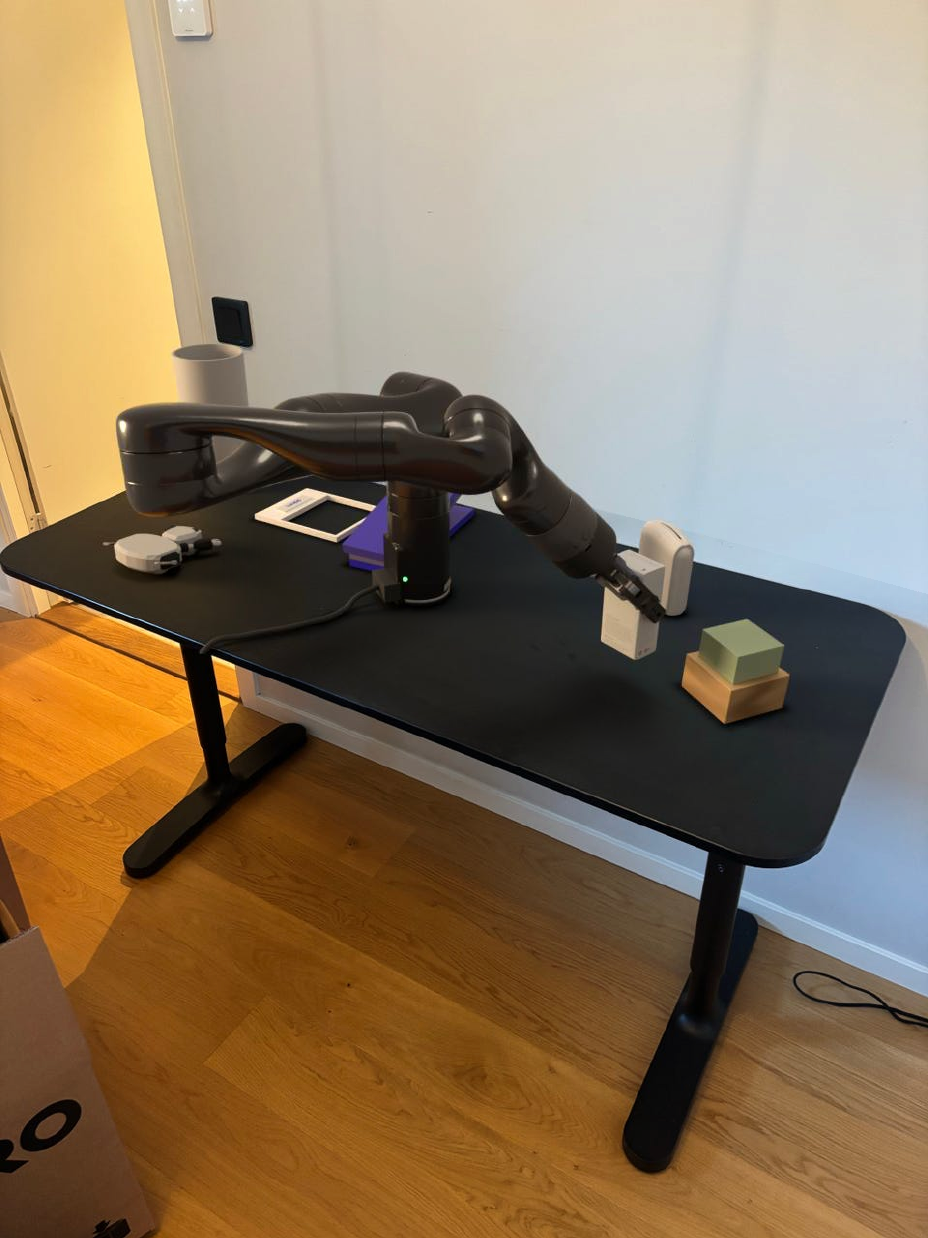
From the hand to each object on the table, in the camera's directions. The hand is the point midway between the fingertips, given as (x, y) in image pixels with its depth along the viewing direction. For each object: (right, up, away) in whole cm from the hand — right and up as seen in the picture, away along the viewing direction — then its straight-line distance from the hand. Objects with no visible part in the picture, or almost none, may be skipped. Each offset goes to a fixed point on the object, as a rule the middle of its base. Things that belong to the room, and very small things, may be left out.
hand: (642, 602), depth 112 cm
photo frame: (-48, +16, +51) cm, 72 cm away
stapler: (-31, +11, +43) cm, 54 cm away
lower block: (+12, -12, +4) cm, 18 cm away
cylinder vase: (-69, +24, +64) cm, 97 cm away
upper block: (+12, -8, +2) cm, 15 cm away
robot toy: (-70, +7, +35) cm, 79 cm away
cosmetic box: (-2, -6, +3) cm, 6 cm away
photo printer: (+8, +1, +26) cm, 27 cm away
